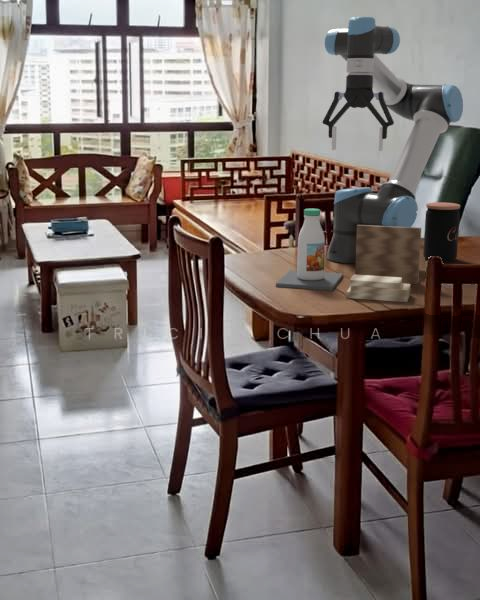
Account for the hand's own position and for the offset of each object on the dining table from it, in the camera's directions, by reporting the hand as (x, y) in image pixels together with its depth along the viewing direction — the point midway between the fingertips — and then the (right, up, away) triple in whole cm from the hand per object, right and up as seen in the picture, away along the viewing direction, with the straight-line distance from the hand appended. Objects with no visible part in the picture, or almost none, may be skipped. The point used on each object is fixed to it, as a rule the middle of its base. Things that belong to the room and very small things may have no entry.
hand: (356, 150), depth 244 cm
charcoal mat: (-14, -38, -1) cm, 41 cm away
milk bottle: (-14, -37, -2) cm, 40 cm away
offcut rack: (+6, -40, -9) cm, 42 cm away
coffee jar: (+31, -30, +31) cm, 53 cm away
